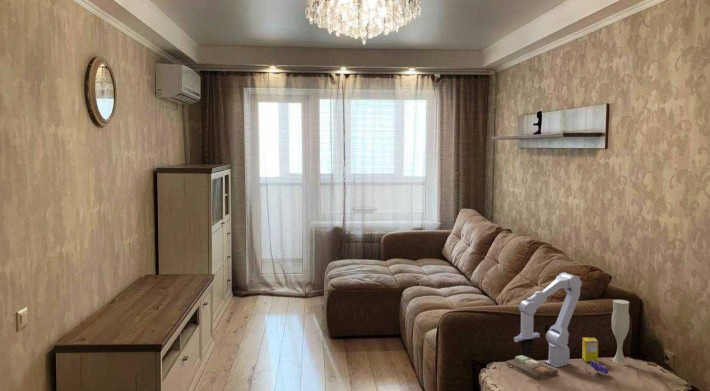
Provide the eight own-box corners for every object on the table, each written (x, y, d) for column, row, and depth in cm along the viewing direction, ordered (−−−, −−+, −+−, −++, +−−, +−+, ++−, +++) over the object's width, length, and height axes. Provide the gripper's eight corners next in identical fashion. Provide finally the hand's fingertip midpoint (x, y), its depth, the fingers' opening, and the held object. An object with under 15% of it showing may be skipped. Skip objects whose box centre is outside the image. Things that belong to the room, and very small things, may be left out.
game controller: (615, 366, 261) (608, 368, 253) (608, 381, 262) (600, 384, 254) (594, 354, 267) (587, 356, 260) (587, 370, 268) (580, 372, 261)
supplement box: (594, 359, 280) (594, 337, 279) (598, 363, 274) (598, 341, 273) (581, 358, 280) (582, 337, 280) (585, 363, 274) (585, 341, 274)
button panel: (526, 360, 279) (526, 356, 278) (557, 374, 261) (558, 370, 261) (506, 365, 273) (506, 361, 273) (536, 379, 255) (536, 375, 255)
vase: (632, 365, 270) (634, 304, 268) (614, 365, 271) (616, 304, 268) (623, 359, 279) (625, 299, 277) (606, 359, 279) (608, 299, 277)
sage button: (521, 360, 275) (522, 355, 275) (528, 363, 271) (528, 358, 271) (515, 361, 273) (515, 356, 273) (521, 364, 270) (521, 359, 269)
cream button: (531, 364, 270) (531, 359, 269) (538, 367, 266) (538, 362, 265) (524, 366, 268) (524, 361, 267) (531, 369, 264) (531, 364, 264)
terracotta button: (541, 371, 264) (541, 366, 264) (548, 375, 260) (549, 369, 260) (534, 373, 262) (534, 368, 262) (541, 376, 258) (541, 371, 258)
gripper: (532, 321, 275) (531, 349, 276) (509, 326, 268) (509, 354, 269) (543, 325, 269) (542, 353, 270) (520, 330, 262) (519, 358, 263)
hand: (526, 354), depth 269 cm, fingers closed
